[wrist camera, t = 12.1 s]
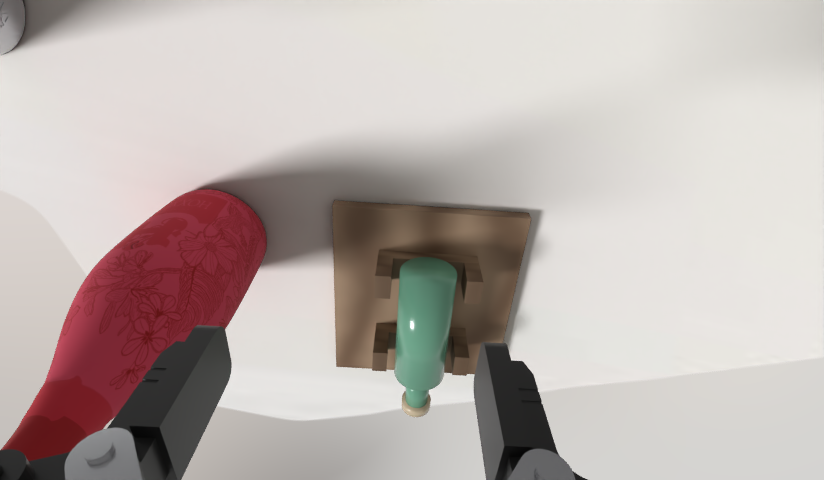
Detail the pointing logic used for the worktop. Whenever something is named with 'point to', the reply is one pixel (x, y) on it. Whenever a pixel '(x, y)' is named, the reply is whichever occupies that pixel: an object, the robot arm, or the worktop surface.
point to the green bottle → (423, 329)
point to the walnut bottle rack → (411, 238)
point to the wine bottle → (142, 313)
